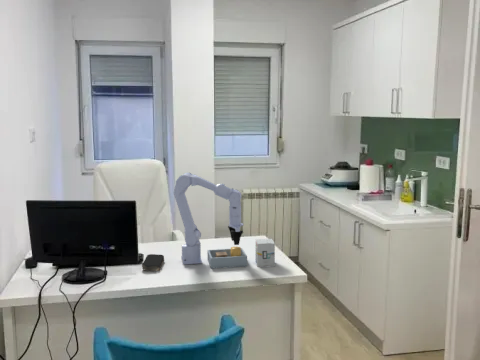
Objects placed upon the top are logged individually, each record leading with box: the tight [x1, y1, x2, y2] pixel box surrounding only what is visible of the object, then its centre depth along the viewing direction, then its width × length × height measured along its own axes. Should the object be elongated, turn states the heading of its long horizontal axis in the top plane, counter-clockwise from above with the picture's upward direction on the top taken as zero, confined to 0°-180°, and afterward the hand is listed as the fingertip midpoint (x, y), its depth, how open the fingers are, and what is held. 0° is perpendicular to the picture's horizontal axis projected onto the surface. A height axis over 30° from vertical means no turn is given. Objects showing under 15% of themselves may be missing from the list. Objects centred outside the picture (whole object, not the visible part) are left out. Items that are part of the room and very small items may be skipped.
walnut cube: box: [216, 252, 227, 257], centre depth 237 cm, size 5×5×5 cm
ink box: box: [255, 238, 276, 268], centre depth 237 cm, size 8×8×12 cm
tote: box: [206, 247, 248, 269], centre depth 240 cm, size 18×14×5 cm
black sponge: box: [141, 253, 165, 272], centre depth 235 cm, size 16×8×4 cm, turn 0°
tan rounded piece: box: [230, 246, 242, 257], centre depth 239 cm, size 5×5×7 cm
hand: (235, 242), depth 238 cm, fingers open, 7 cm apart
